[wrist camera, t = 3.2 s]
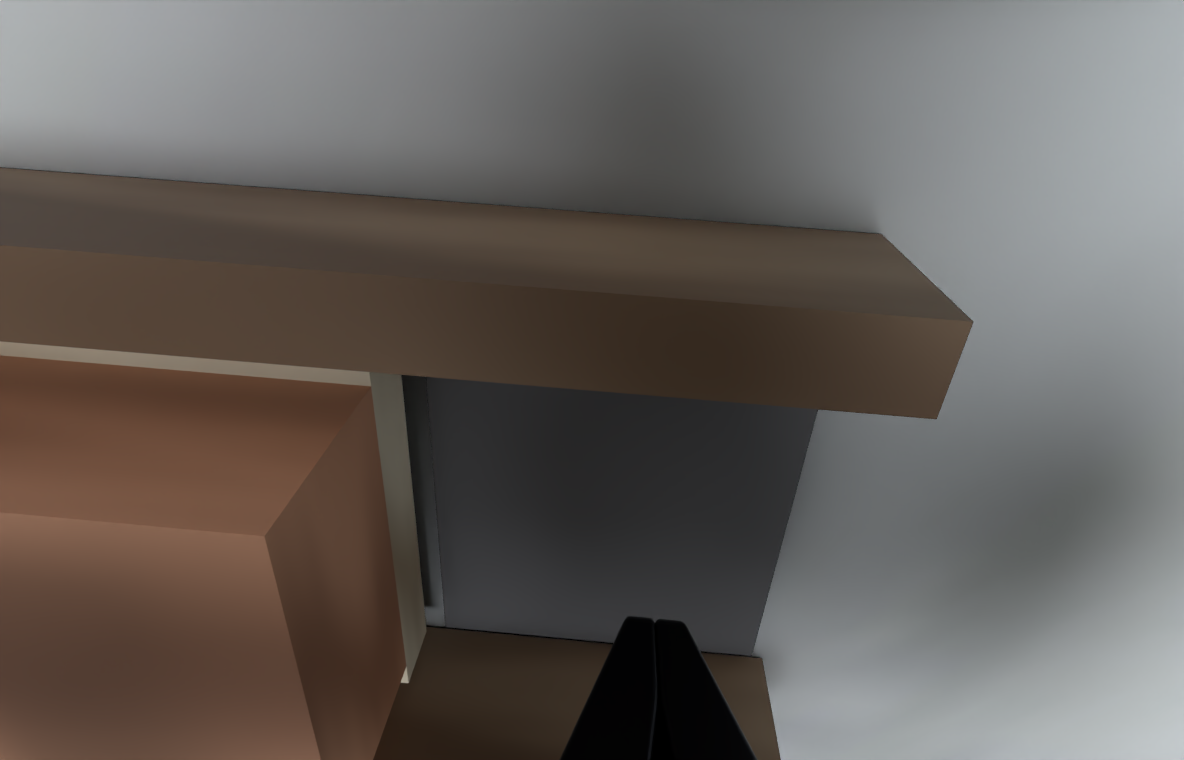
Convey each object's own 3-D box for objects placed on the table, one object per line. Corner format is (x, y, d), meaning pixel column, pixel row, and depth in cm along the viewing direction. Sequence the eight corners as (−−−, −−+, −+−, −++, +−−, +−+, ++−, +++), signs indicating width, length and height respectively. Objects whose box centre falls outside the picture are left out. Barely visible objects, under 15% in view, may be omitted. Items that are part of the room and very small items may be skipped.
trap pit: (750, 647, 14) (751, 656, 14) (447, 619, 14) (445, 627, 14) (835, 327, 10) (838, 333, 10) (424, 295, 10) (419, 300, 10)
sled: (426, 630, 13) (346, 862, 10) (46, 595, 14) (-171, 808, 10) (395, 318, 10) (253, 498, 6) (-114, 277, 10) (-531, 427, 7)
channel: (751, 694, 15) (776, 843, 12) (-123, 610, 15) (-282, 735, 13) (881, 234, 9) (973, 322, 7) (-453, 133, 10) (-840, 178, 7)
